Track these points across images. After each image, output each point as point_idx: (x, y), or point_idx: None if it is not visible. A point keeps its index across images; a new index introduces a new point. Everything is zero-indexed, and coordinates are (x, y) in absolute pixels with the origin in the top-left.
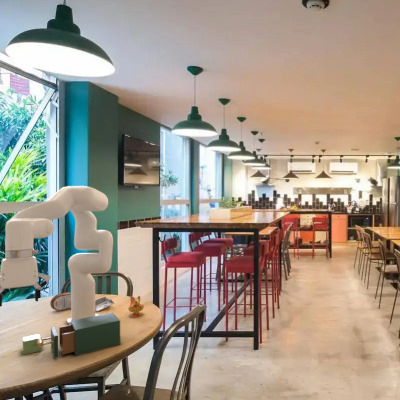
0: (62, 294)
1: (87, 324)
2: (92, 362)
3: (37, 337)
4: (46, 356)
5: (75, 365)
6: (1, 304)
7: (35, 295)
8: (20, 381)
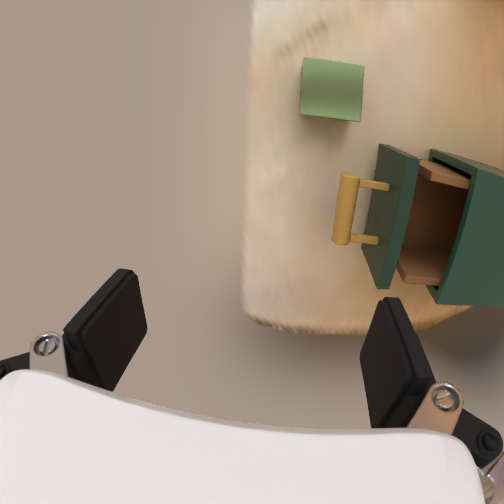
0: None
1: (483, 275)
2: None
3: (351, 107)
4: None
5: None
6: (140, 340)
7: (373, 377)
8: (270, 308)
